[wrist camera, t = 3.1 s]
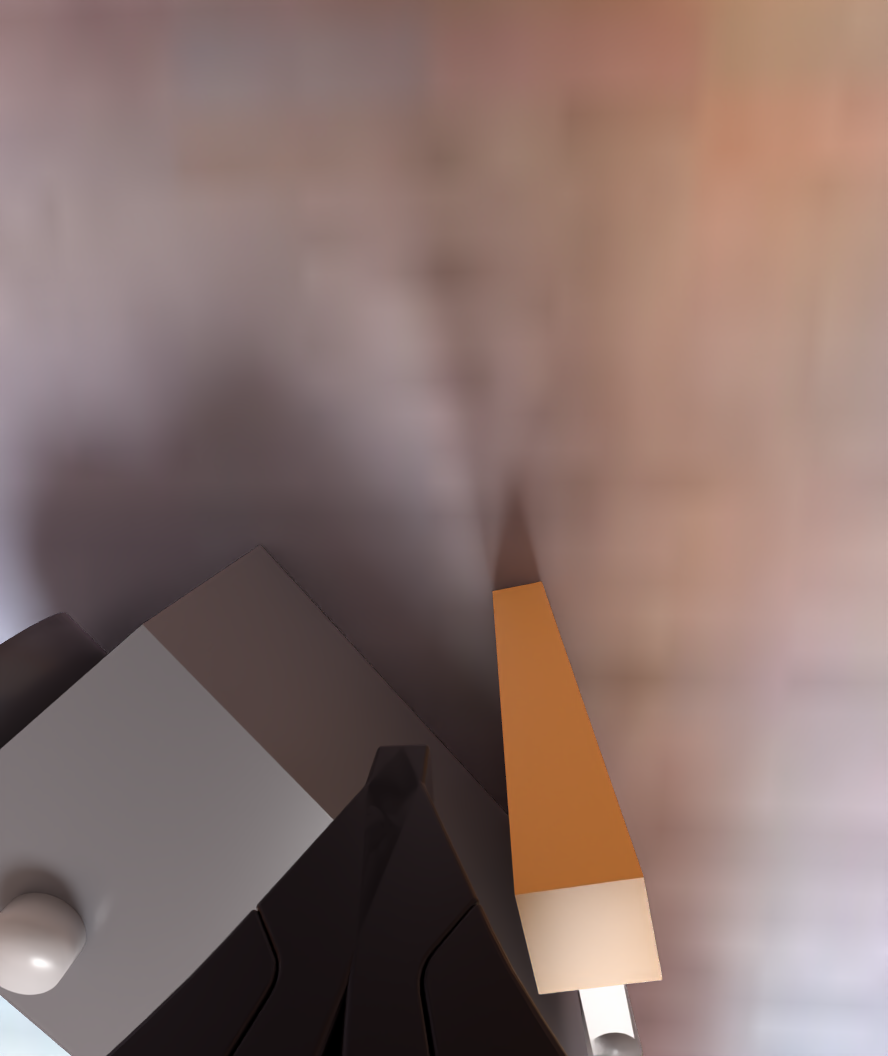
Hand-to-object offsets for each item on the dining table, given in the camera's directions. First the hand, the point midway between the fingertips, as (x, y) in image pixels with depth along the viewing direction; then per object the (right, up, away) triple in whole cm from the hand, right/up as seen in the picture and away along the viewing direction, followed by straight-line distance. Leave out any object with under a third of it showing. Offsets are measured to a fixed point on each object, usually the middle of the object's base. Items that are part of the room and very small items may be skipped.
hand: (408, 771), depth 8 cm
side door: (+3, -2, +6) cm, 7 cm away
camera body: (-3, -4, +7) cm, 9 cm away
